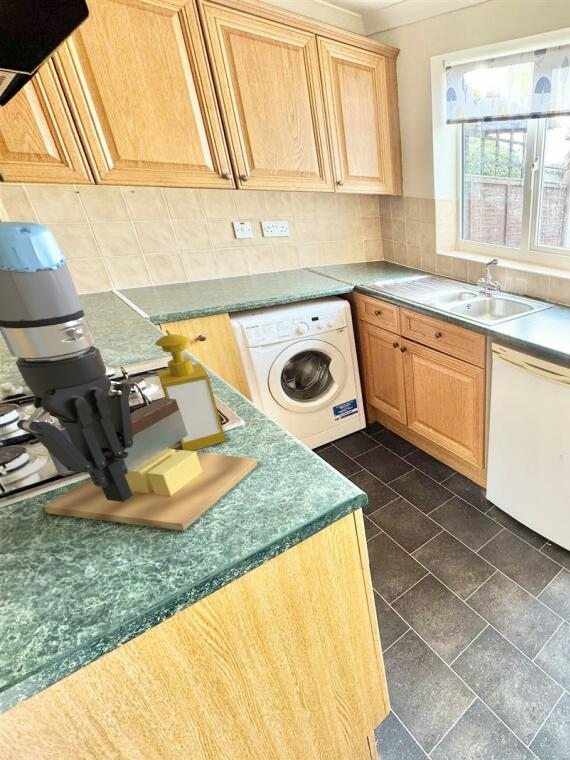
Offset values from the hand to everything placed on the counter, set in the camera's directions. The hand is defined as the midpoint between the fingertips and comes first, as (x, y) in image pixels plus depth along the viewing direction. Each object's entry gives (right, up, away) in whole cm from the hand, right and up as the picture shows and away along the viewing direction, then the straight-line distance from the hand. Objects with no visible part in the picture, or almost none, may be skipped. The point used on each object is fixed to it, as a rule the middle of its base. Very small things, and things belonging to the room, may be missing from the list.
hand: (120, 497), depth 63 cm
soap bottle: (-9, +6, +29) cm, 31 cm away
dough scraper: (-2, +5, +9) cm, 11 cm away
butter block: (-8, 0, +12) cm, 14 cm away
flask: (-23, +2, +18) cm, 29 cm away
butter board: (-4, -2, +13) cm, 13 cm away
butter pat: (0, -1, +12) cm, 12 cm away
